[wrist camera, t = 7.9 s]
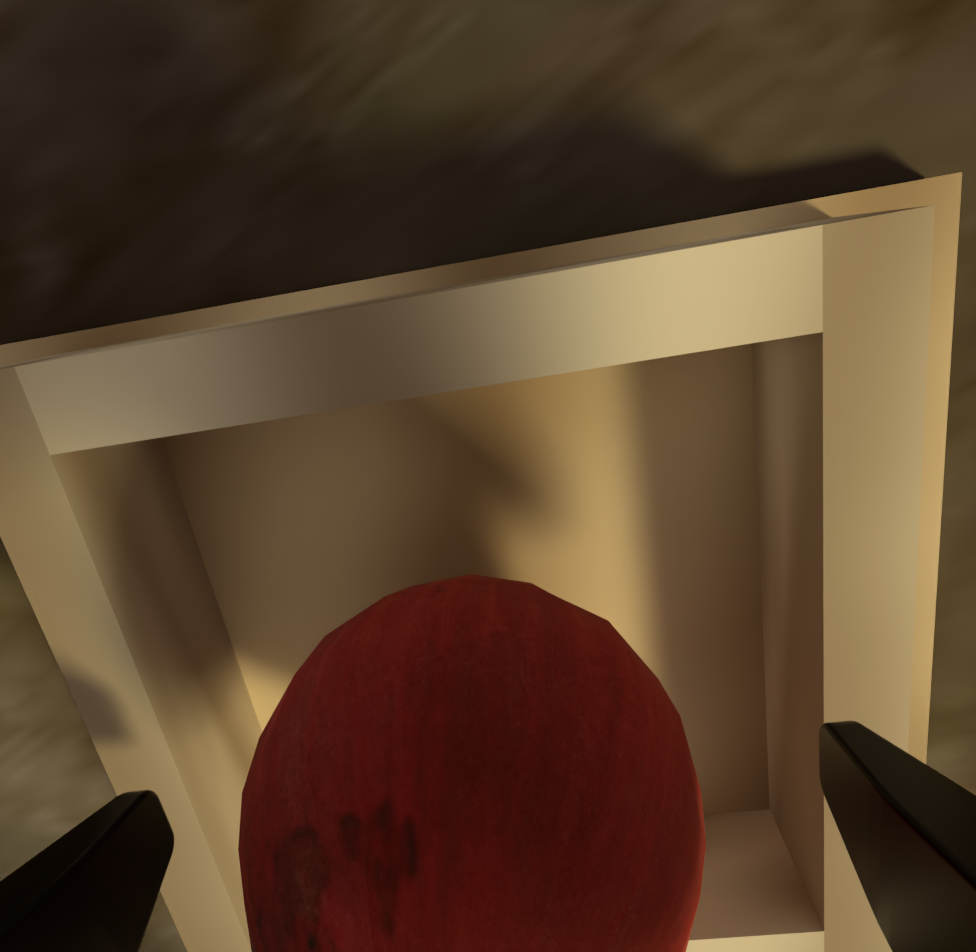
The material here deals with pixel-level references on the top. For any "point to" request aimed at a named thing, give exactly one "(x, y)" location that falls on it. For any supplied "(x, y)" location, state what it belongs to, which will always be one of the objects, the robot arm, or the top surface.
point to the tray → (519, 511)
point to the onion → (472, 786)
